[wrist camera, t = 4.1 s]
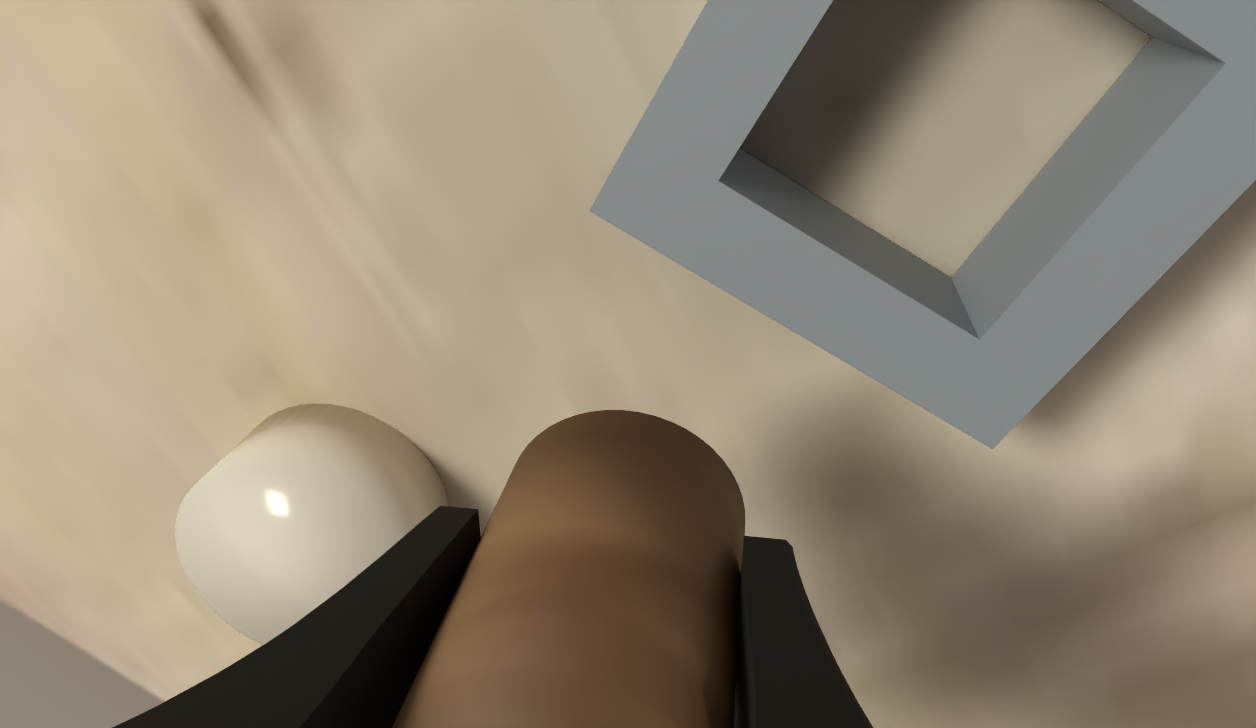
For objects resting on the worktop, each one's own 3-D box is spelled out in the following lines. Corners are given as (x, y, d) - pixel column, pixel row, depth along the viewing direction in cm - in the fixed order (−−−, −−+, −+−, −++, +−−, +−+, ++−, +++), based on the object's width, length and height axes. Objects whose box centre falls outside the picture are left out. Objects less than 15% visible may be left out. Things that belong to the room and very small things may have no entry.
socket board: (1303, 0, 15) (1410, 20, 13) (963, 376, 20) (992, 449, 17) (877, -296, 14) (899, -340, 12) (615, 167, 19) (589, 210, 16)
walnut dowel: (793, 490, 14) (801, 843, 9) (666, 638, 16) (611, 1002, 11) (575, 366, 14) (445, 660, 8) (471, 533, 15) (312, 860, 10)
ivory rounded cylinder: (479, 463, 23) (439, 533, 20) (413, 614, 26) (370, 693, 23) (267, 364, 23) (197, 423, 20) (223, 528, 25) (158, 598, 23)
